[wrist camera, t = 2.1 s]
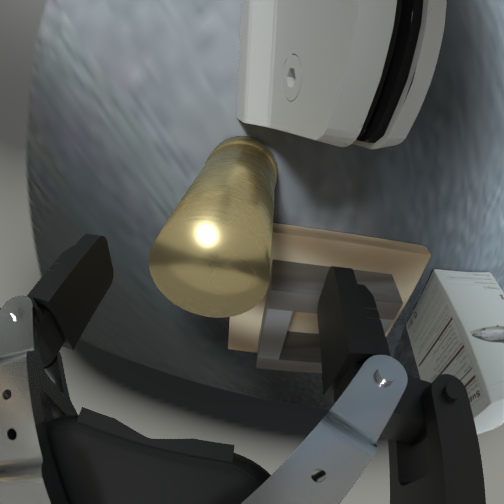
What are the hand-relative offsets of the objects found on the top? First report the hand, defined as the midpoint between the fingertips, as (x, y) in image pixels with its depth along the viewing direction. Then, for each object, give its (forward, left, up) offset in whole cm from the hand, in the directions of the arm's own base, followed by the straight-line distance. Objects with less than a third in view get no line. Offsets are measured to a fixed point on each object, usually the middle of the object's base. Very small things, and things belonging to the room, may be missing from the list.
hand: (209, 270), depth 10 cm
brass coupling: (0, 0, -9) cm, 9 cm away
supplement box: (+8, +20, -10) cm, 23 cm away
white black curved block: (-12, +3, -10) cm, 15 cm away
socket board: (+10, +7, -9) cm, 15 cm away
